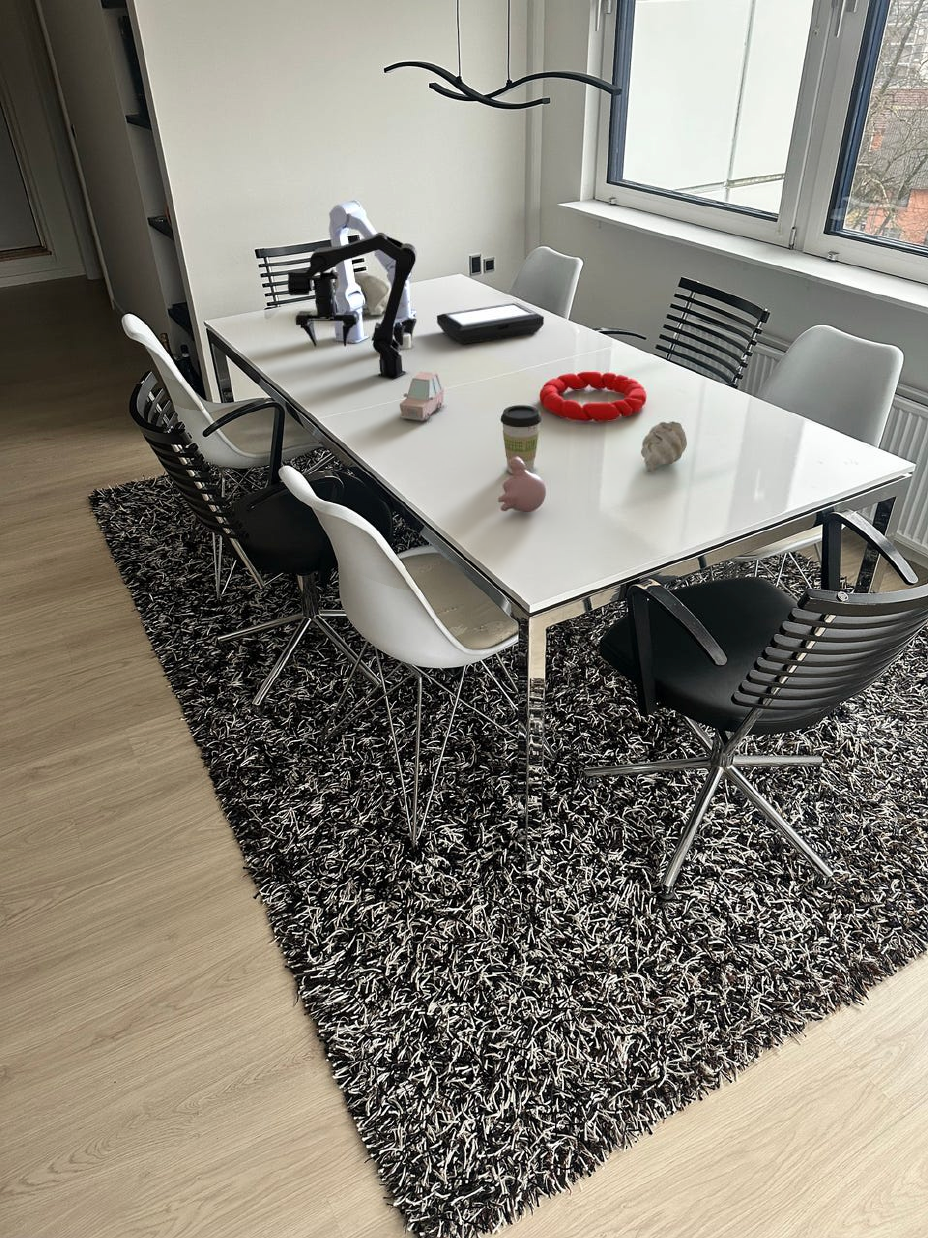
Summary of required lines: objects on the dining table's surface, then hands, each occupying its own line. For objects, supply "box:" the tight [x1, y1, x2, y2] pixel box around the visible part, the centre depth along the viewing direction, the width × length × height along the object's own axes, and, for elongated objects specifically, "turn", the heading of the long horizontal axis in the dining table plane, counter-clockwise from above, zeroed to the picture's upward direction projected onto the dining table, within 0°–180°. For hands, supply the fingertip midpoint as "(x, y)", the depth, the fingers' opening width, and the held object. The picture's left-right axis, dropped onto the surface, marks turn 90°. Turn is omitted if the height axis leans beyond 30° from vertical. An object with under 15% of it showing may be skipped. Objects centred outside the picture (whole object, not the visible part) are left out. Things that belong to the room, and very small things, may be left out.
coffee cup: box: [499, 404, 543, 474], centre depth 216 cm, size 10×10×15 cm
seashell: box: [640, 421, 688, 473], centre depth 218 cm, size 10×15×10 cm
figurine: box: [497, 457, 547, 513], centre depth 199 cm, size 9×11×12 cm
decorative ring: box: [539, 371, 647, 422], centre depth 253 cm, size 7×30×30 cm
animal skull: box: [333, 271, 391, 316], centre depth 336 cm, size 17×25×20 cm
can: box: [399, 332, 412, 350], centre depth 302 cm, size 5×5×4 cm
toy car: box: [399, 371, 445, 422], centre depth 250 cm, size 9×15×10 cm, turn 158°
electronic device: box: [436, 302, 545, 345], centre depth 312 cm, size 32×6×20 cm
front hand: (330, 346), depth 275 cm, fingers open, 9 cm apart
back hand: (404, 342), depth 302 cm, fingers closed on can, 5 cm apart
